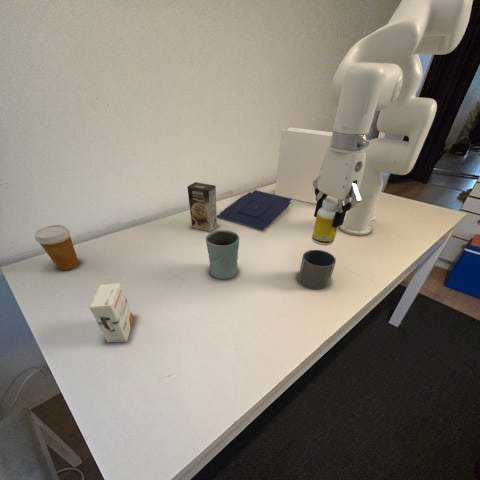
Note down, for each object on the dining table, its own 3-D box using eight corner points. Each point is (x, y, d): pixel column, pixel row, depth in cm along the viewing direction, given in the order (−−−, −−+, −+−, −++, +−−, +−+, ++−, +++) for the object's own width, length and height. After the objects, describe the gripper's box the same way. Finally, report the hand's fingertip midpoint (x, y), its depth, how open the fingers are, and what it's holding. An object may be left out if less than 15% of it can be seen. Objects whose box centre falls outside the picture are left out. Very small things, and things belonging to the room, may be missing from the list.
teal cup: (215, 283, 81) (213, 248, 73) (203, 267, 88) (200, 233, 79) (244, 275, 85) (245, 241, 76) (230, 260, 91) (230, 227, 83)
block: (274, 194, 138) (281, 129, 118) (281, 190, 143) (289, 127, 123) (340, 209, 124) (360, 139, 105) (345, 204, 129) (365, 136, 110)
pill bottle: (334, 247, 72) (346, 206, 64) (311, 245, 73) (320, 204, 65) (332, 237, 76) (344, 197, 69) (311, 234, 77) (320, 195, 69)
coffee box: (191, 228, 108) (186, 186, 97) (198, 221, 113) (194, 181, 101) (211, 232, 106) (208, 189, 95) (217, 225, 110) (215, 184, 99)
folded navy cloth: (295, 205, 124) (296, 198, 121) (263, 236, 108) (263, 229, 106) (251, 194, 133) (251, 187, 130) (216, 222, 118) (215, 214, 115)
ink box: (115, 318, 70) (99, 282, 61) (134, 317, 70) (121, 281, 62) (106, 343, 63) (87, 307, 55) (127, 342, 64) (111, 306, 56)
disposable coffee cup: (90, 260, 90) (75, 227, 81) (68, 275, 83) (50, 240, 75) (68, 255, 92) (51, 222, 83) (45, 269, 85) (25, 235, 77)
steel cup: (314, 268, 88) (320, 247, 82) (335, 283, 82) (342, 261, 77) (292, 276, 85) (296, 254, 79) (311, 292, 79) (317, 270, 73)
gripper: (392, 148, 54) (362, 231, 67) (332, 133, 65) (316, 207, 77) (366, 152, 51) (340, 237, 64) (309, 136, 62) (296, 212, 75)
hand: (327, 220), depth 70 cm, fingers closed on pill bottle, 6 cm apart
